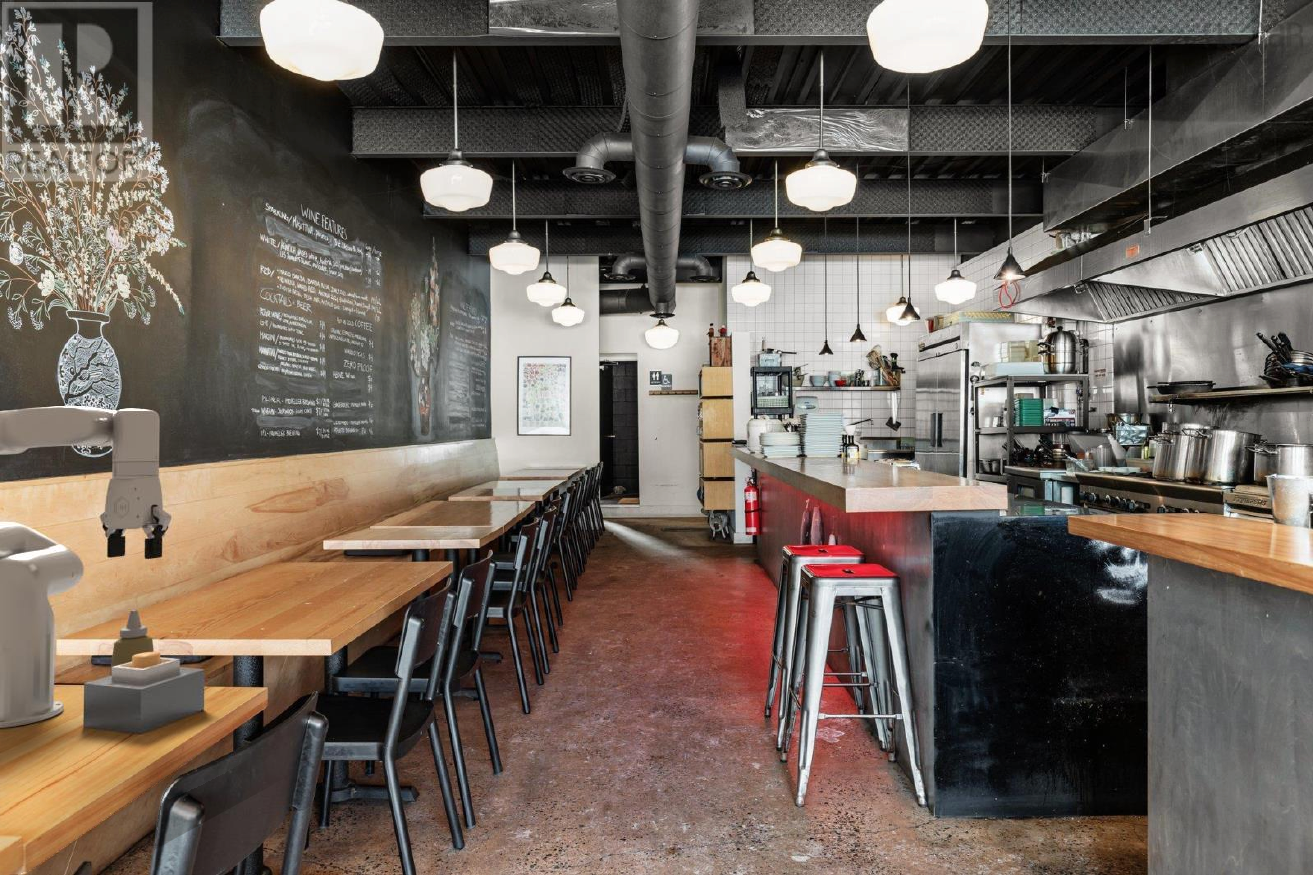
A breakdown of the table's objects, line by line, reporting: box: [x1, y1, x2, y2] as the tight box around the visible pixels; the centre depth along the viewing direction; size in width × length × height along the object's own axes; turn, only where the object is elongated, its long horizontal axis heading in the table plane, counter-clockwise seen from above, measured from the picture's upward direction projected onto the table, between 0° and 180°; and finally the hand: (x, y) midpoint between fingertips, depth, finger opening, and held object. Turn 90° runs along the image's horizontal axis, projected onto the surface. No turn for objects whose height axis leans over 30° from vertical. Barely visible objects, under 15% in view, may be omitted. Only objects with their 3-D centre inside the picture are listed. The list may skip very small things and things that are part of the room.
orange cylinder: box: [132, 651, 161, 669], centre depth 138 cm, size 4×4×9 cm
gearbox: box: [82, 656, 206, 735], centre depth 138 cm, size 14×13×10 cm
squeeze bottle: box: [109, 609, 155, 676], centre depth 151 cm, size 8×8×18 cm
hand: (134, 557), depth 142 cm, fingers open, 9 cm apart
